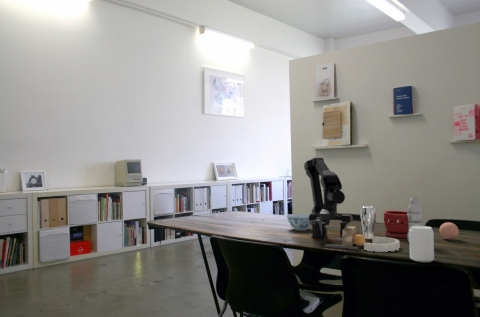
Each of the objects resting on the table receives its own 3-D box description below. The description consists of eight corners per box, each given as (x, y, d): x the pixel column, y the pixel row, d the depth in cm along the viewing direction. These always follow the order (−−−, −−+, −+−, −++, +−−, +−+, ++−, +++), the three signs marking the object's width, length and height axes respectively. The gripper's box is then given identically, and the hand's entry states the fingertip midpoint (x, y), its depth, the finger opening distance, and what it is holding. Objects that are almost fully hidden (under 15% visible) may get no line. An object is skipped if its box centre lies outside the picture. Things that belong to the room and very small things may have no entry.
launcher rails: (324, 246, 171) (324, 244, 171) (334, 240, 185) (334, 238, 185) (357, 249, 165) (357, 247, 165) (365, 242, 179) (365, 240, 179)
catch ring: (364, 250, 162) (363, 243, 162) (372, 242, 178) (372, 236, 179) (396, 253, 156) (396, 245, 156) (402, 245, 173) (401, 238, 173)
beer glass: (377, 239, 186) (376, 207, 186) (361, 239, 187) (361, 207, 187) (375, 237, 192) (374, 206, 193) (360, 236, 194) (359, 206, 194)
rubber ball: (352, 234, 171) (363, 235, 169) (354, 233, 176) (366, 233, 173) (352, 246, 171) (364, 247, 169) (354, 244, 176) (366, 245, 173)
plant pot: (383, 238, 190) (383, 213, 190) (384, 233, 202) (384, 210, 202) (413, 239, 185) (412, 213, 185) (412, 235, 197) (411, 210, 197)
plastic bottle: (422, 242, 177) (421, 197, 178) (424, 245, 171) (423, 199, 171) (406, 241, 179) (405, 197, 180) (407, 244, 173) (406, 198, 173)
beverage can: (405, 258, 148) (404, 225, 149) (426, 257, 149) (425, 225, 149) (417, 263, 140) (416, 229, 141) (438, 262, 141) (438, 228, 141)
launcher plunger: (342, 246, 170) (342, 230, 170) (349, 241, 180) (349, 226, 180) (349, 247, 168) (349, 230, 168) (356, 242, 179) (355, 226, 179)
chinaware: (314, 231, 211) (314, 217, 211) (286, 231, 214) (286, 217, 214) (314, 227, 226) (314, 214, 226) (288, 227, 229) (287, 213, 229)
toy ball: (458, 238, 186) (457, 221, 186) (459, 241, 179) (459, 224, 179) (439, 237, 189) (438, 221, 189) (439, 240, 182) (439, 223, 182)
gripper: (304, 202, 176) (305, 238, 176) (346, 204, 167) (347, 241, 167) (312, 200, 186) (313, 234, 185) (352, 202, 177) (353, 237, 176)
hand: (330, 236), depth 178 cm, fingers open, 9 cm apart
